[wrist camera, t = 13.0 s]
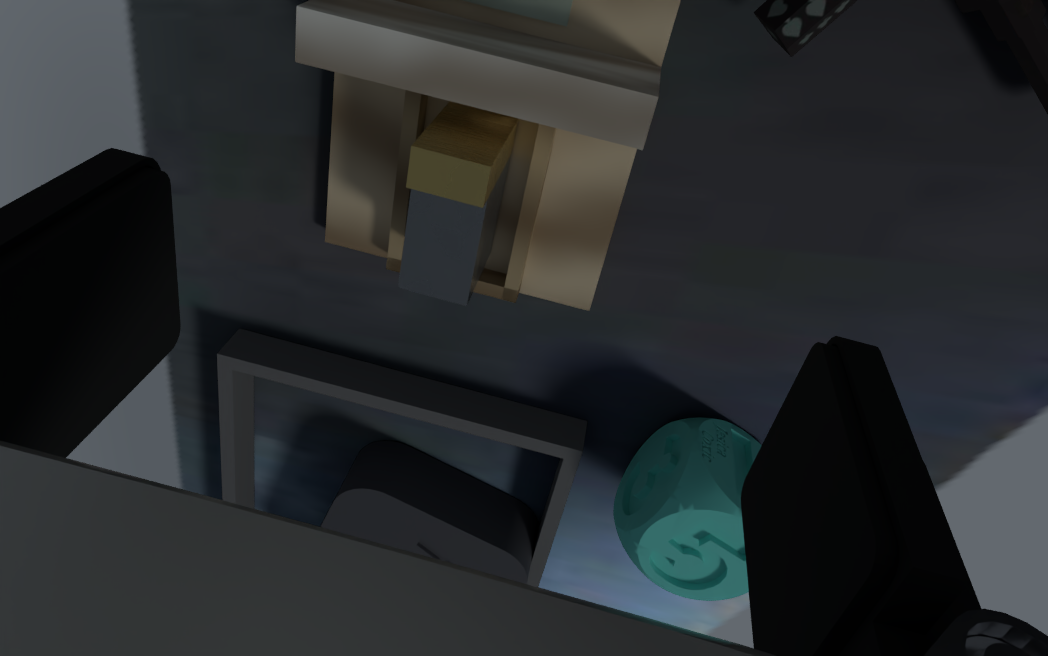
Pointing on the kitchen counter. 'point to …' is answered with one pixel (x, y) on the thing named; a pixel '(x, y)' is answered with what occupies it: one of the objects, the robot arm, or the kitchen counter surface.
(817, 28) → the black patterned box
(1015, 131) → the kitchen counter surface
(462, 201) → the latch bar
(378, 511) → the streaming box
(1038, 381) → the kitchen counter surface
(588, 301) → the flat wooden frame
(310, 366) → the dark rectangular frame
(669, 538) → the decorative dice
